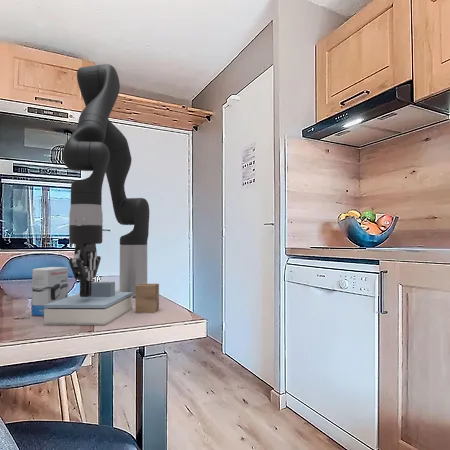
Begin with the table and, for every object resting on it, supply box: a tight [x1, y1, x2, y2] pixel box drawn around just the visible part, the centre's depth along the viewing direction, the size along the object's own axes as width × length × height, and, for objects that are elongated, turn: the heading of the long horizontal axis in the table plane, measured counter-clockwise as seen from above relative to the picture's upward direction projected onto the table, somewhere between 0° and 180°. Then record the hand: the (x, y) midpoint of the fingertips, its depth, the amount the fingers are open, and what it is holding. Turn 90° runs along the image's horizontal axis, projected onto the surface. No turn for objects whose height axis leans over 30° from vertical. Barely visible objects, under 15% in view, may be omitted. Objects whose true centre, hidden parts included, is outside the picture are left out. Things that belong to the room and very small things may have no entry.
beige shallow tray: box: [43, 296, 134, 326], centre depth 93 cm, size 20×14×4 cm
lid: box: [44, 281, 133, 308], centre depth 93 cm, size 20×14×4 cm
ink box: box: [31, 266, 69, 317], centre depth 98 cm, size 8×5×12 cm, turn 168°
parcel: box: [135, 283, 160, 314], centre depth 100 cm, size 5×5×7 cm
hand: (85, 296), depth 89 cm, fingers closed
